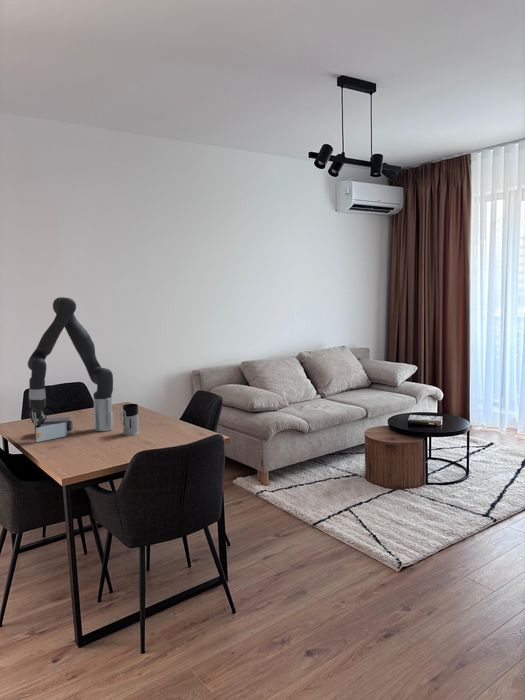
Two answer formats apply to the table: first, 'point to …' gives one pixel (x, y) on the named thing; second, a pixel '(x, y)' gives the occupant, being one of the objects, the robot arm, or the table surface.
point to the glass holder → (130, 419)
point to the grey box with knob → (58, 420)
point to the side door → (51, 432)
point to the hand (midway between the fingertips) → (37, 432)
